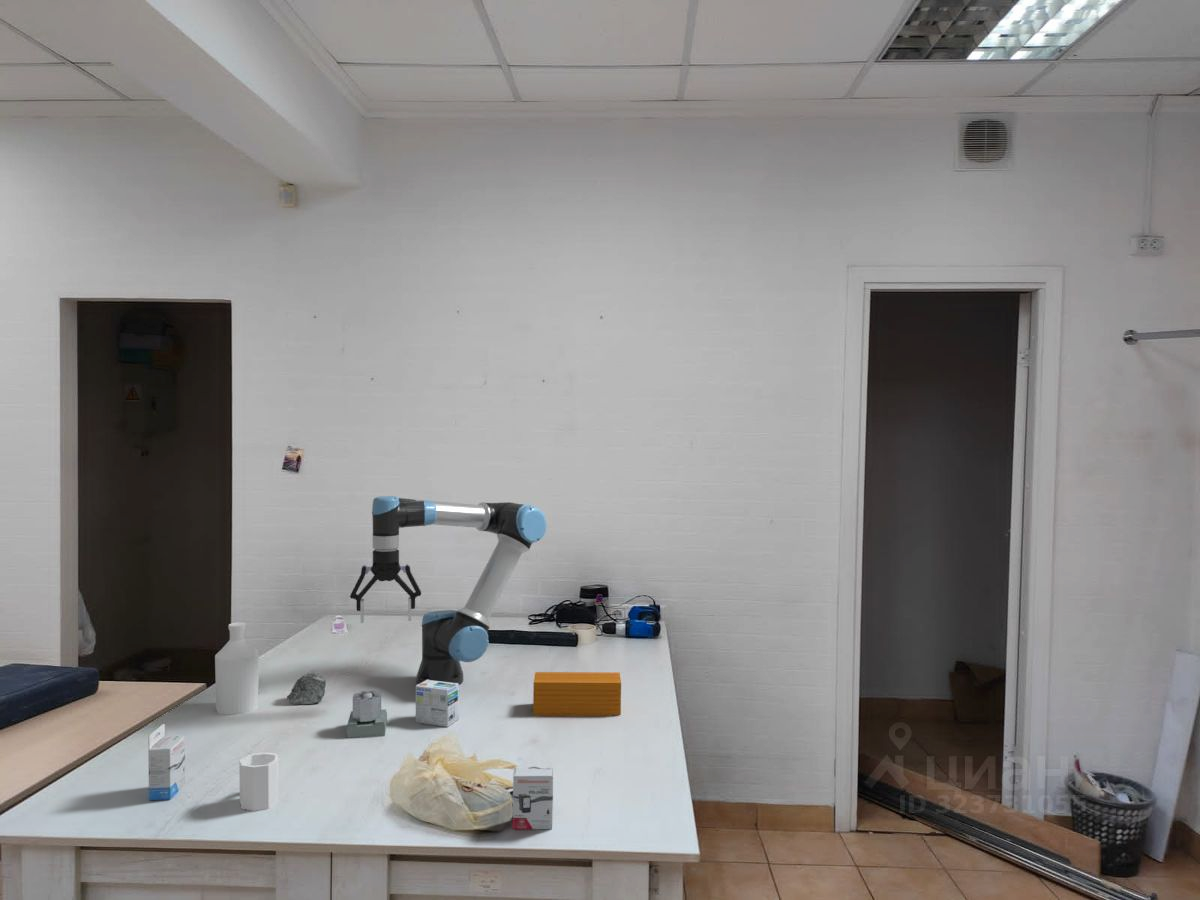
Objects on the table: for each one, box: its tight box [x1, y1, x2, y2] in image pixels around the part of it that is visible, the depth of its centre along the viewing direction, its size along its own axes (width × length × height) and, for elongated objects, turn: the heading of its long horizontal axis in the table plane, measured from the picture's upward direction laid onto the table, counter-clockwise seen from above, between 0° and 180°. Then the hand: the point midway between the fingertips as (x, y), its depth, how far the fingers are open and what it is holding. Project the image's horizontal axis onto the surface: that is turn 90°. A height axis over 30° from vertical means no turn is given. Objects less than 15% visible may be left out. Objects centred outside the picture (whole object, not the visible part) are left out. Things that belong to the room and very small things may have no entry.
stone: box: [286, 670, 327, 706], centre depth 256 cm, size 10×10×10 cm
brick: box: [532, 671, 622, 717], centre depth 252 cm, size 26×10×10 cm, turn 91°
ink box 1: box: [147, 723, 186, 801], centre depth 194 cm, size 9×5×15 cm, turn 5°
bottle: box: [214, 621, 260, 716], centre depth 249 cm, size 12×12×25 cm
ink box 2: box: [512, 765, 554, 831], centre depth 181 cm, size 9×5×12 cm, turn 93°
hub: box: [352, 690, 382, 722], centre depth 233 cm, size 7×7×6 cm
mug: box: [239, 751, 280, 812], centre depth 191 cm, size 12×9×10 cm
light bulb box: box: [415, 680, 460, 728], centre depth 241 cm, size 11×7×11 cm, turn 71°
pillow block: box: [346, 693, 388, 739], centre depth 233 cm, size 10×10×10 cm
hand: (386, 620), depth 248 cm, fingers open, 13 cm apart
